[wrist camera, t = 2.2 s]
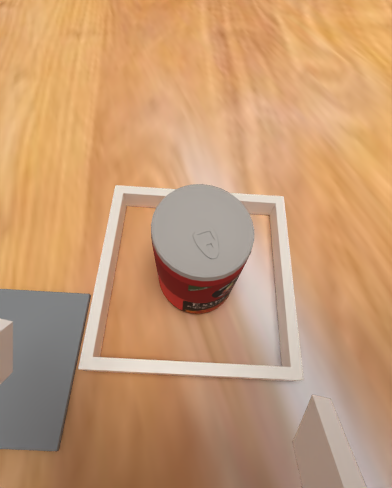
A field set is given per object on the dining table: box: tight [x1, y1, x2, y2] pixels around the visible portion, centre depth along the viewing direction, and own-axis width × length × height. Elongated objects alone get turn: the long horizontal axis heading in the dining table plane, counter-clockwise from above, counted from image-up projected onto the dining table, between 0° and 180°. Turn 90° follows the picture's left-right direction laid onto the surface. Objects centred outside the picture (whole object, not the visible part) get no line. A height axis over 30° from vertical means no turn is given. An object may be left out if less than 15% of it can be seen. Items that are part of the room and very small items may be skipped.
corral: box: [78, 185, 304, 381], centre depth 30 cm, size 19×19×2 cm
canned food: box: [151, 184, 254, 314], centre depth 27 cm, size 8×8×11 cm
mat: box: [0, 289, 91, 451], centre depth 27 cm, size 13×13×1 cm
